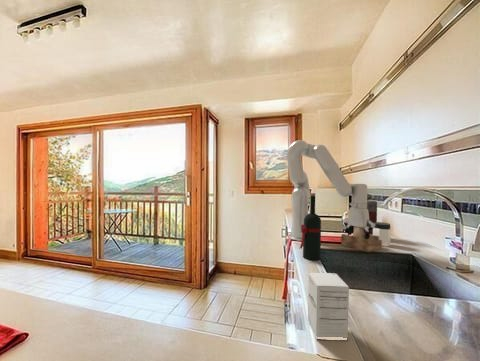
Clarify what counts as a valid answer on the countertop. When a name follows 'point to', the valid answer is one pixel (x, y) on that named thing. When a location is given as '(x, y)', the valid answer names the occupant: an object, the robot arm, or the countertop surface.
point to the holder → (361, 242)
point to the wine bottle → (311, 234)
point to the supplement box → (328, 305)
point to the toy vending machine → (371, 211)
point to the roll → (358, 232)
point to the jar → (383, 232)
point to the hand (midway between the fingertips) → (358, 236)
